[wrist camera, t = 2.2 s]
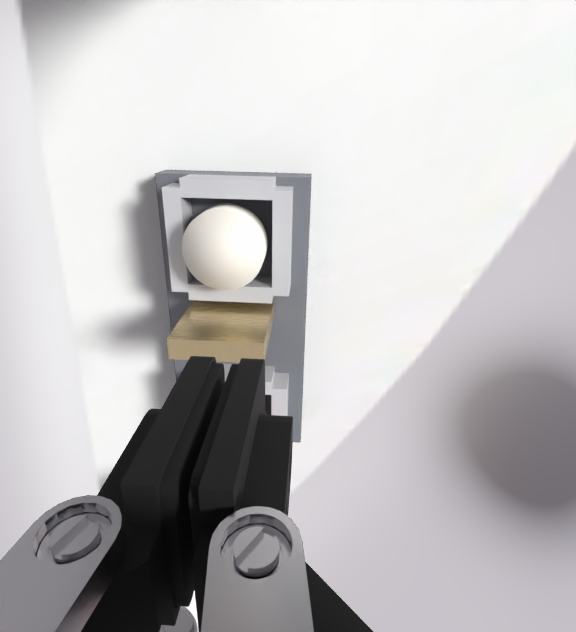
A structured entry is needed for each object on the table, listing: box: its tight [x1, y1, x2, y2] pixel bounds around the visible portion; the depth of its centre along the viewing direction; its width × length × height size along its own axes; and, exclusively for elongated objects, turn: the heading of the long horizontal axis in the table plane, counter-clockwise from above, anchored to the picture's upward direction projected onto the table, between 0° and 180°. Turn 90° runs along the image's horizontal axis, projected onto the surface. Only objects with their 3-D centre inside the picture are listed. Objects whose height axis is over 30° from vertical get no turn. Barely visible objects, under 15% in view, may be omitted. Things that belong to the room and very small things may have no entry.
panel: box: [155, 170, 311, 442], centre depth 28 cm, size 20×9×4 cm, turn 179°
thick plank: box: [167, 299, 275, 363], centre depth 25 cm, size 1×5×6 cm, turn 89°
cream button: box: [182, 203, 268, 290], centre depth 24 cm, size 4×4×2 cm
